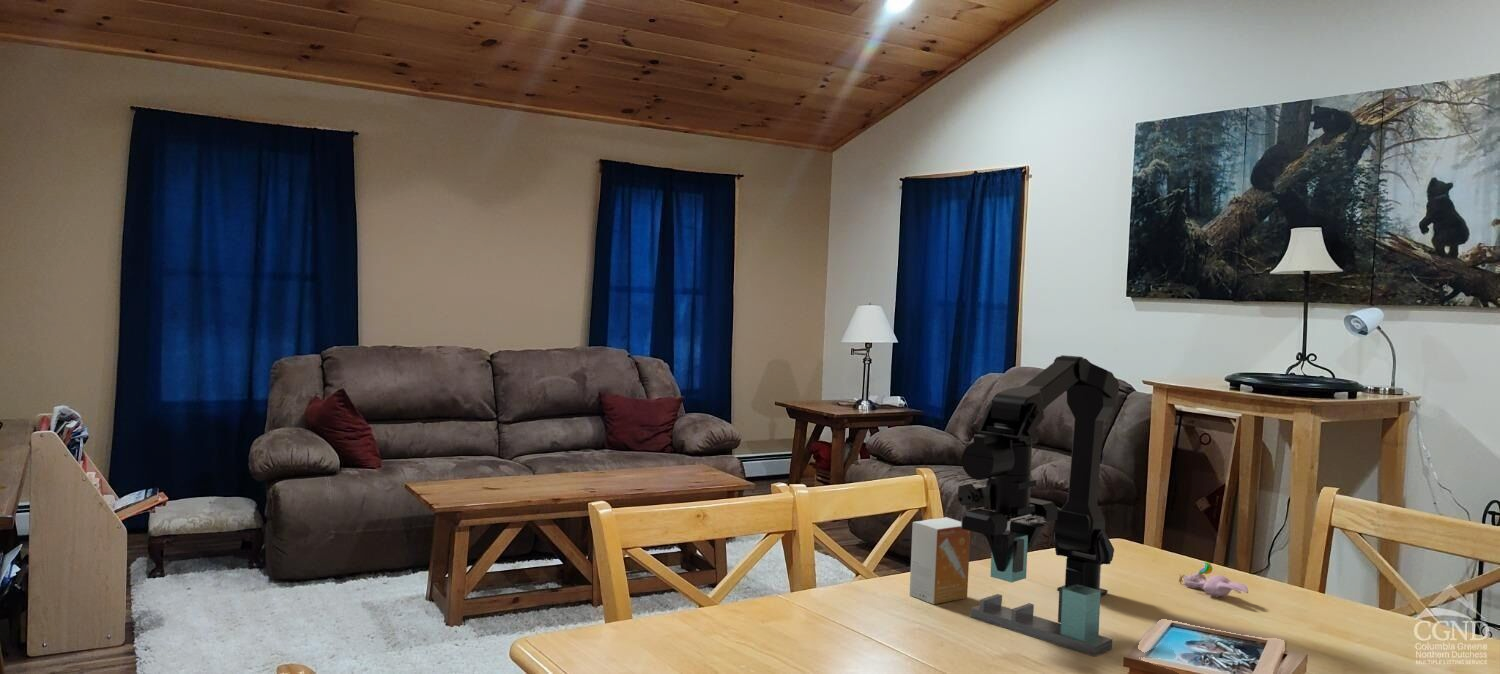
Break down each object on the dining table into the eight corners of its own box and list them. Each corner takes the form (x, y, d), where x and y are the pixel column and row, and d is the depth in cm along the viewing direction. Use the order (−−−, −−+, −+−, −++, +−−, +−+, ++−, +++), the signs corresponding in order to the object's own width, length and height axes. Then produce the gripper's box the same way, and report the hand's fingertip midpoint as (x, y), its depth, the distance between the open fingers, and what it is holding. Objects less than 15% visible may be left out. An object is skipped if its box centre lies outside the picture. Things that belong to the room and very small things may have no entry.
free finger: (1004, 572, 166) (1006, 530, 166) (1029, 579, 163) (1031, 535, 163) (990, 576, 164) (992, 533, 163) (1015, 583, 160) (1016, 539, 160)
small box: (934, 605, 172) (937, 529, 171) (908, 595, 177) (911, 521, 176) (968, 598, 176) (971, 524, 175) (942, 588, 181) (945, 516, 181)
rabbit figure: (1171, 592, 188) (1229, 603, 174) (1169, 559, 189) (1227, 568, 175) (1200, 590, 190) (1260, 601, 176) (1198, 557, 191) (1257, 566, 176)
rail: (988, 611, 169) (990, 560, 169) (1112, 649, 153) (1114, 593, 153) (970, 617, 166) (972, 565, 166) (1094, 656, 150) (1097, 599, 149)
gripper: (1003, 459, 175) (999, 549, 176) (935, 470, 162) (931, 567, 163) (1061, 469, 167) (1057, 563, 167) (994, 482, 154) (990, 583, 155)
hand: (1008, 568), depth 164 cm, fingers closed on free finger, 4 cm apart
